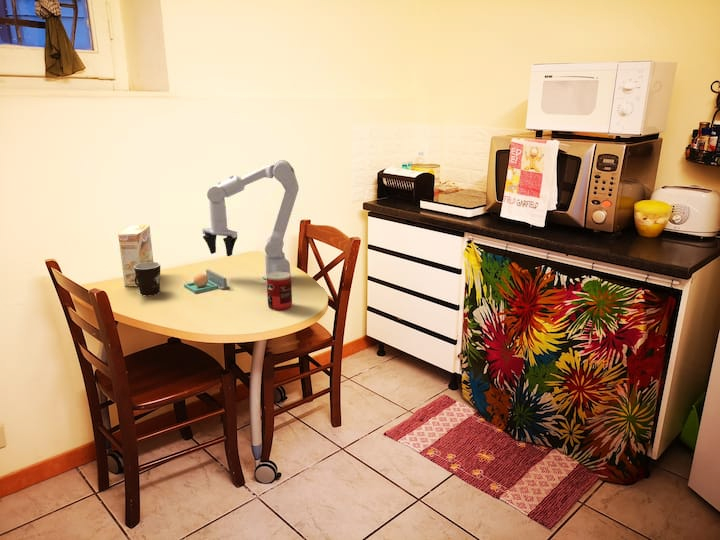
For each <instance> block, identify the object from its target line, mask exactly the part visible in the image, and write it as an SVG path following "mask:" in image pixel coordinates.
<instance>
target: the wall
mask: <svg viewBox="0 0 720 540" xmlns="http://www.w3.org/2000/svg"><path fill="white" fill-rule="evenodd" d="M205 275H206V276H207V278H208V280H209V281H211V282H213V283H215V284H217V285H218V287H219V290H221V291H224V290H227V289H230V286H229V285H227V284H228V282H227V277H224V276H223V275H220V274H219V273H217V272H215V271H213V270H211V269H205Z"/></svg>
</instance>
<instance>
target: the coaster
mask: <svg viewBox="0 0 720 540" xmlns="http://www.w3.org/2000/svg"><path fill="white" fill-rule="evenodd" d="M183 287H184V288H185V289H186V290H189V291H190V292H192V293H193V294H199V293H204V292H209V291H212V290H216V289H220V287H219V286H218V285H217V284H215V283H213V282H211V281H209V280H208V283H207V285H206V286H204V287H198V286H196V285H195V284H194V281H192V282H188V283H185V284H183Z"/></svg>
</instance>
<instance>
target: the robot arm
mask: <svg viewBox="0 0 720 540" xmlns="http://www.w3.org/2000/svg"><path fill="white" fill-rule="evenodd" d="M228 177H229V178H228V179H226V180H223V181H222V182H221V181H218V182H217V184H214V185H212V186H211V187H210V188H209V189H208V191H207V194H206V196H207V198H208V200H209V201H208V202H209V217H210V227H211V228H210V227H204V228H202V230H201V231H202V235H203V236H202V238H203V240H204V241H205V243H206V245H207V247H208V250H209V252H210V254H211V255H213V254H216V252H217V243H216V242H217V236H221V237H224V238H222V241H223V242H224V246H225V253H226V256H227V257H231V256H233V252H234V251H233V250H234V247H235V243H236V241H237V239H238V231H235V230H231V229H229V228H228V220H227V209H226V208H227V207H226V200H225V198H229V197H233V196H234V195H236V194H238V193H241V192H243V191H244V190H245V187H246V186H247V185H250V184H252V183H254V182H257V181H259V180H261V179H264V178H266V179H273V178H274V179H276V180H277V181H278V182H279V183H280V184H281V186H282V187H283V189H284V194H283V197H282V200H281V203H280V207H279V210H278V214H277V216H276V220H275V223H274V227H273V229H272V230H273V231H272V233H271V236H269V238H268V239H267V241H266V245H265V247H264V252H265V256H264V258H265V260H264V261H265V275H262V276H261V279H265V280H266V281H267V274H268V273H271V272H277V271H282V272H288V273H290V274H291V265H290V262H289V260H288V259H287V258H286V256H285V252H284V251H283V248H284V238H285V234H286V231H287V228H288V225H289V221H290V218H291V215H292V211H293V208H294V205H295V202H296V199H297V196H298V192H299V184H298V180H297V177H296V172H295V169H294V167H293V166H292V165H291V164H290V162H289V161H287V160H285V159H284V160H283V159H282V160H278V161H276V162H272V163H269V164H267V165H264V166H261V167H260V168H258V169H256V170H253V171H251V172H249V173H248V174H247V173H246V175H243V176H238V175H235V176H234V175H230V176H228ZM291 280H293V277H291Z"/></svg>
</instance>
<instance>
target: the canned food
mask: <svg viewBox="0 0 720 540" xmlns="http://www.w3.org/2000/svg"><path fill="white" fill-rule="evenodd" d="M291 278H292V274H291V272H290V273H288V272H282V271H277V272H271V273H268V274H267V280H266V293H267V297H266V298H267V306H268V308H269V309H270V310H273V311H286V310H289V309H291V308H292V305H293V293H292V292H293V287H292V279H291Z"/></svg>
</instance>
